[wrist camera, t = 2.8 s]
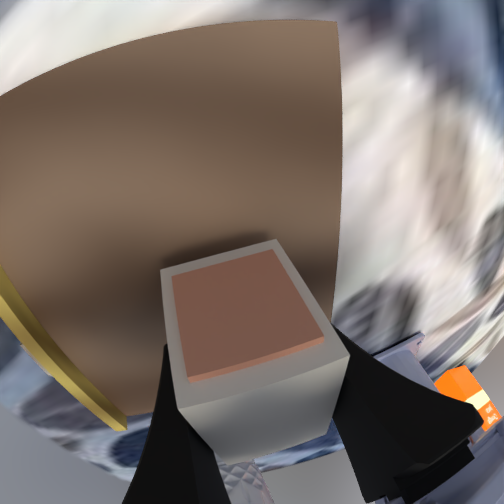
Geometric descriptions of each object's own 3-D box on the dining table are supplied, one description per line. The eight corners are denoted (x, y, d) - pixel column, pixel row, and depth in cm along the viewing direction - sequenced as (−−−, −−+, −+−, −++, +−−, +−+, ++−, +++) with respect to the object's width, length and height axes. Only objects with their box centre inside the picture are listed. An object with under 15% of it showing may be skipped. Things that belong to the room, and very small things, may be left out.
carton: (201, 366, 13) (227, 465, 9) (158, 263, 9) (174, 404, 6) (283, 342, 14) (325, 433, 10) (275, 232, 10) (351, 349, 6)
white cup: (167, 463, 25) (188, 546, 17) (186, 438, 21) (215, 544, 13) (235, 459, 28) (261, 533, 20) (266, 433, 25) (302, 522, 17)
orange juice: (436, 393, 43) (485, 471, 27) (414, 401, 38) (468, 492, 23) (465, 364, 39) (520, 445, 24) (448, 369, 35) (510, 465, 20)
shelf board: (321, 355, 18) (331, 374, 17) (111, 410, 16) (112, 431, 15) (327, 23, 8) (354, 19, 6) (-64, 142, 5) (-87, 157, 4)
